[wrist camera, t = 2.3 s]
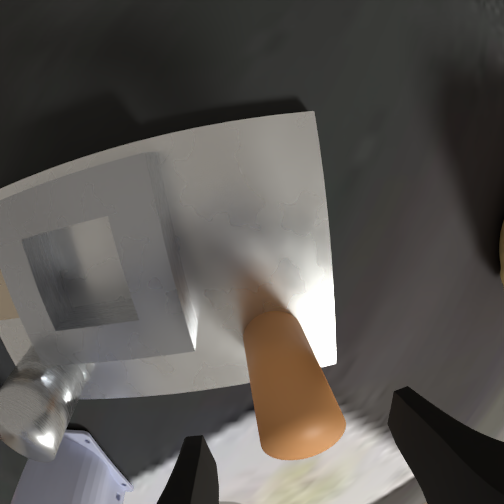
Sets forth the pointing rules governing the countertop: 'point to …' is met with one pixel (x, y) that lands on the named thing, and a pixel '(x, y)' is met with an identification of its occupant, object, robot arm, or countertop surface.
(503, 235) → the yellow rounded lump
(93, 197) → the square frame peg fixture
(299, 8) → the countertop surface
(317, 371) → the round pin
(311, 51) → the countertop surface
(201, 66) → the countertop surface
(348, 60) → the countertop surface
